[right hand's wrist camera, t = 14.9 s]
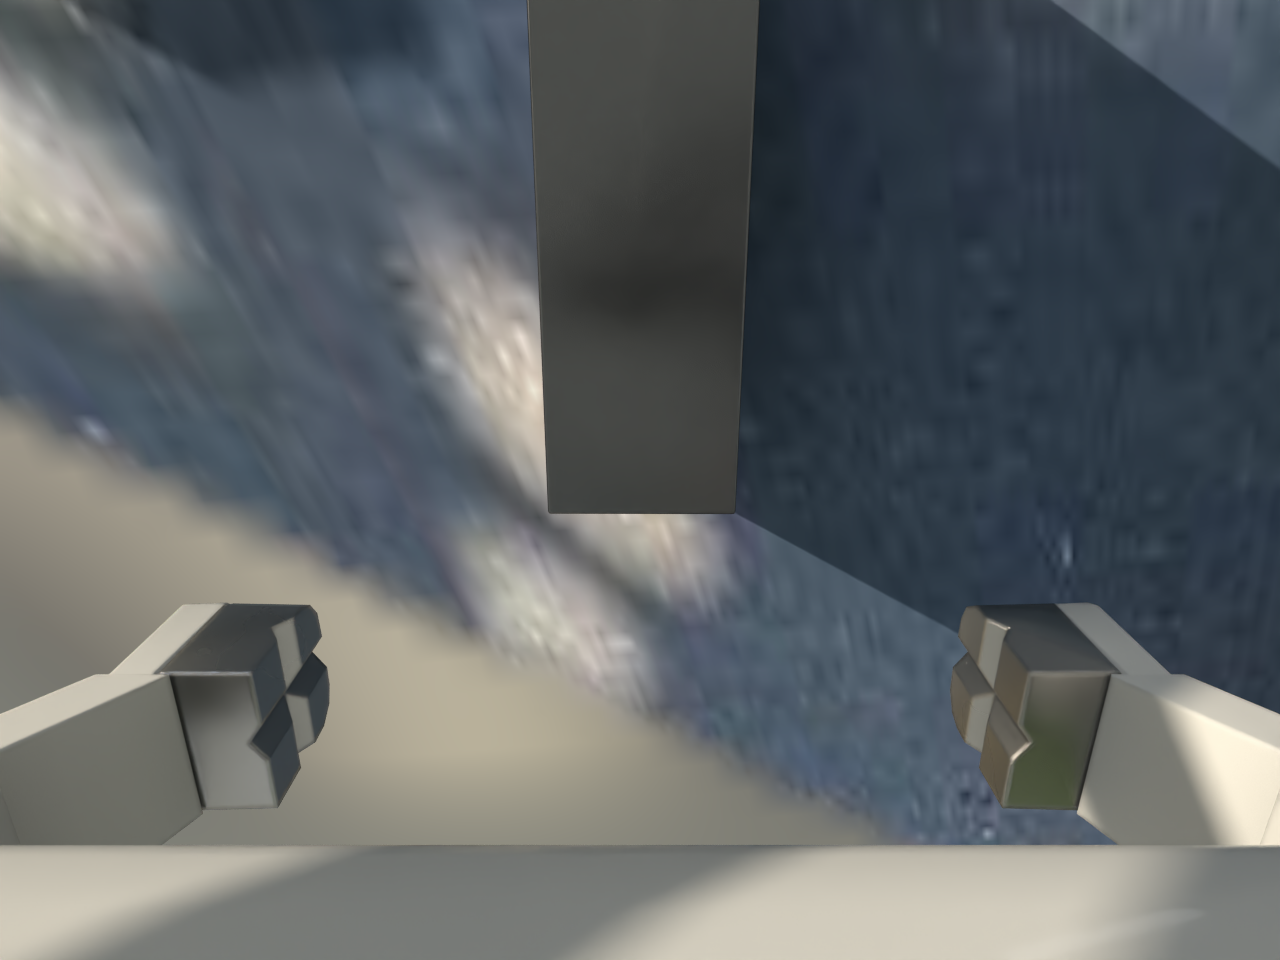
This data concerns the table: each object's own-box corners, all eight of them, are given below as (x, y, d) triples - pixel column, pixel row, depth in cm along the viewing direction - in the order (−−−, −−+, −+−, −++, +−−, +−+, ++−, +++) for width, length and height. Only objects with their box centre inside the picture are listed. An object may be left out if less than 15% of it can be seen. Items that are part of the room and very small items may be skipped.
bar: (711, 426, 34) (735, 515, 26) (571, 425, 34) (548, 514, 26) (734, -236, 26) (781, -437, 18) (552, -236, 26) (507, -437, 18)
